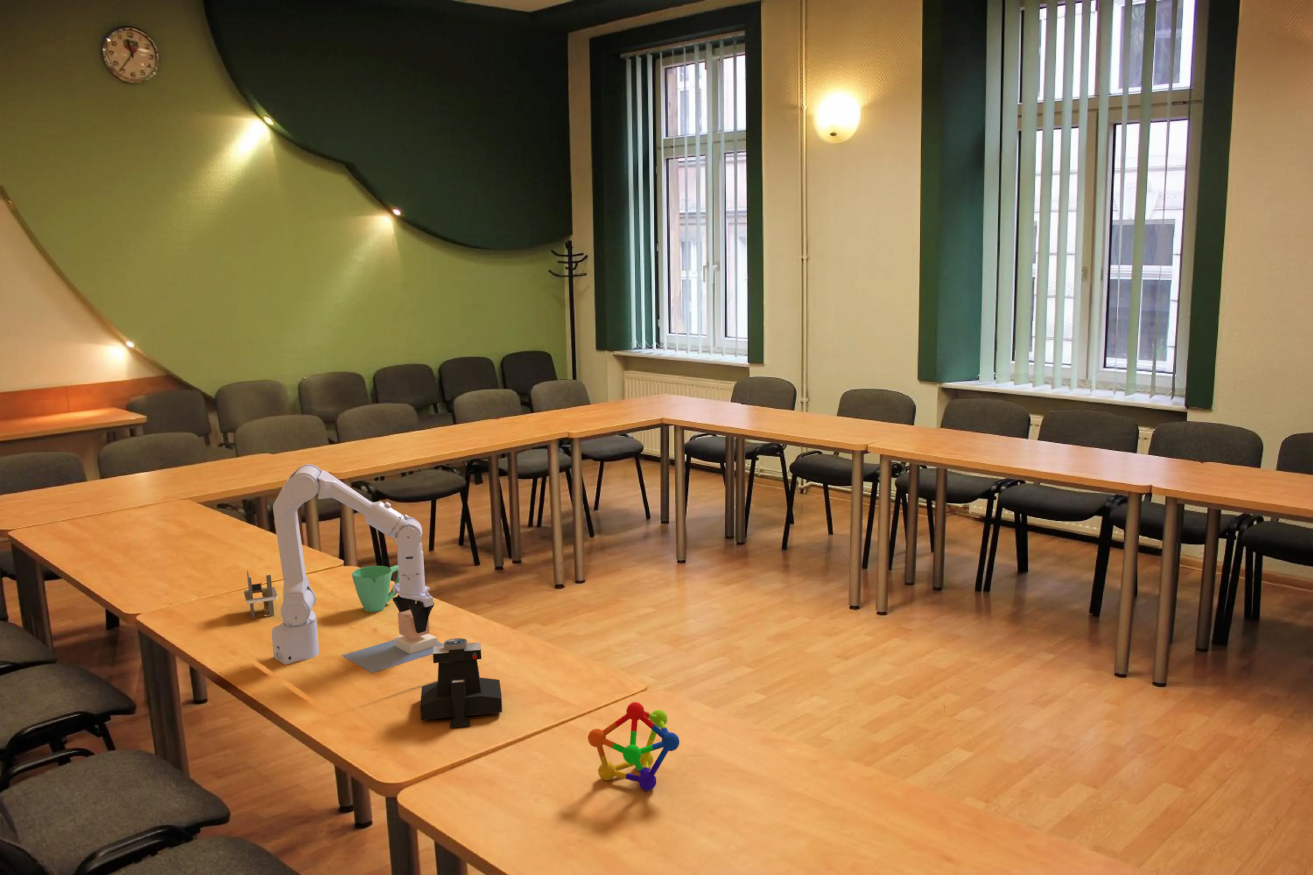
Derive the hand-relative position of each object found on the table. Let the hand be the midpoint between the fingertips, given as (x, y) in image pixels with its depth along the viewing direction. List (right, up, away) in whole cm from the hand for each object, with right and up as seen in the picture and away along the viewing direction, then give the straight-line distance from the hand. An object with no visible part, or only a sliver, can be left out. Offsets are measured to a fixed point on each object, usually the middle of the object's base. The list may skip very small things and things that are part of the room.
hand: (414, 628), depth 251 cm
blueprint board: (-4, -6, -2) cm, 7 cm away
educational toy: (+53, -16, -61) cm, 82 cm away
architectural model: (-45, -1, +27) cm, 52 cm away
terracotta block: (0, -1, 0) cm, 1 cm away
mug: (-15, 0, +30) cm, 34 cm away
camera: (+17, -11, -32) cm, 38 cm away
